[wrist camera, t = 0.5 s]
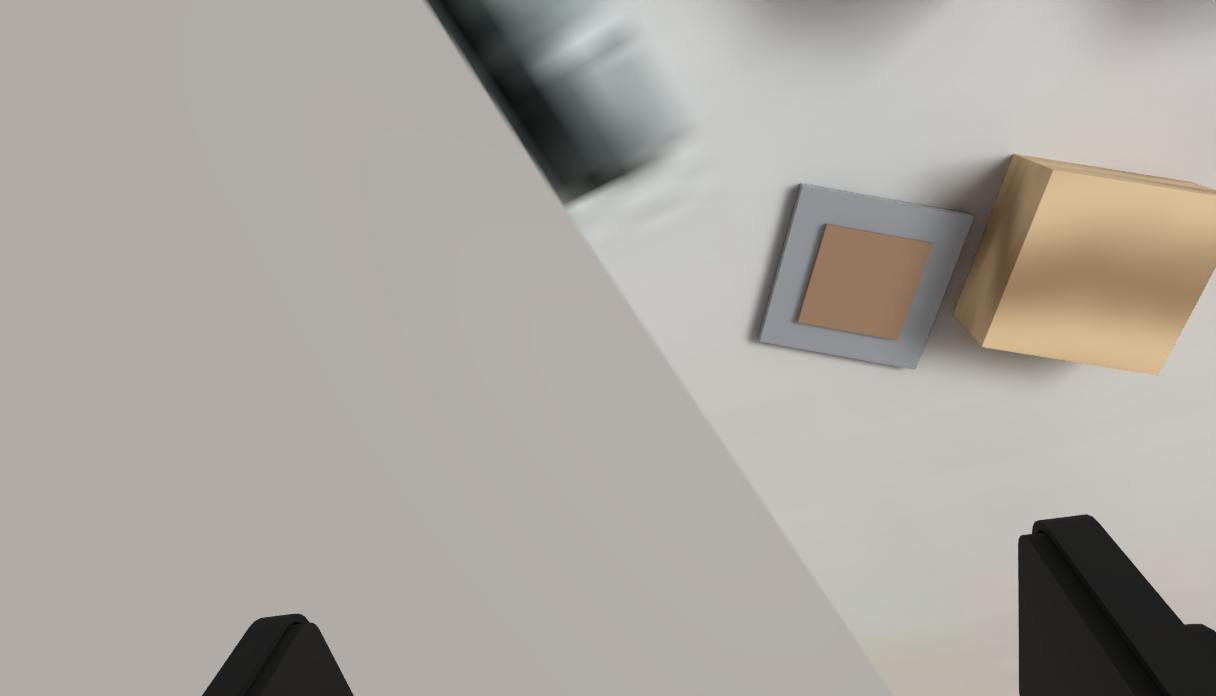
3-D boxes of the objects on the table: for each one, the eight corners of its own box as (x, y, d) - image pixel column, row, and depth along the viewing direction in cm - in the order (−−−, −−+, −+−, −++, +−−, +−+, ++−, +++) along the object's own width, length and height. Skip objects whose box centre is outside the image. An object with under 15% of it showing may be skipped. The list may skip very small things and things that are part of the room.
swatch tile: (800, 183, 34) (803, 187, 33) (969, 213, 34) (976, 218, 33) (758, 336, 37) (760, 344, 36) (911, 364, 37) (916, 372, 36)
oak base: (1011, 152, 33) (1053, 169, 29) (1186, 180, 33) (1250, 201, 29) (950, 313, 36) (981, 346, 33) (1109, 339, 36) (1158, 375, 33)
